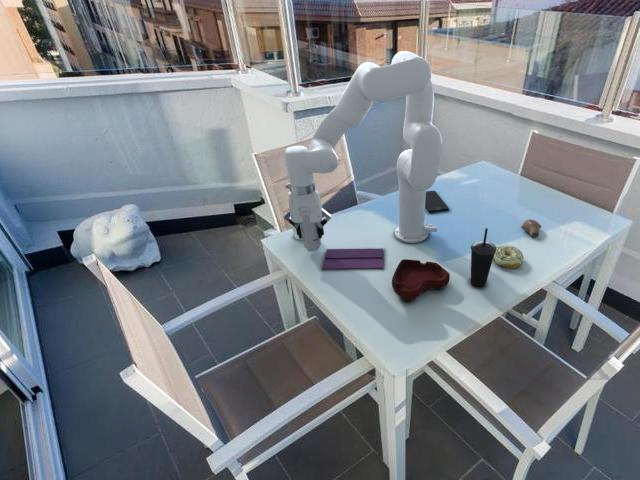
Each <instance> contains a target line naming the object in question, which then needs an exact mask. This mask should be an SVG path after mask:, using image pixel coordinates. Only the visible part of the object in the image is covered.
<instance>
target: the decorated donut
mask: <svg viewBox="0 0 640 480" xmlns="http://www.w3.org/2000/svg"><path fill="white" fill-rule="evenodd" d="M495 246H496V245H495ZM496 248H497V250H496V253H495V254H494V257H493V262H495V264H497V265H498V266H500V267H501V268H504V269H510V270H513V269H516V268H518V267H520V265H521V264H522V262H523V261H524V254H523V252H522V251H521V249H519V248H517V247H515V246H514V245H509V244H503V245H497V246H496Z"/></svg>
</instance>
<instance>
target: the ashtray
mask: <svg viewBox="0 0 640 480" xmlns="http://www.w3.org/2000/svg"><path fill="white" fill-rule="evenodd" d="M450 281H451V275H450V273H449V272H448V271H447V269H445V268H443V267H442V265H440V264H439V263H438V262H434V261H426V262H424V263H423V262H421V261H420V260H417V259H408V258H407V259H406V258H405V259H401V260H400V261H399V263H398V265H397V266H396V269H395V271H394V273H393V275H392V277H391V286H392V290H393V291H394V293H395V294H396V295H397V296H398V297H399V298H400V299H402V300H403V302H406V303H409V302H412V301H414V300H416V299H418V298H419V297H420V296H421V295H422V294H425V293H427V292H428V291H431V290H434V289H435V290H441V289H442V288H443V289H444V288H445V287H447V286H448V284H449V283H450Z"/></svg>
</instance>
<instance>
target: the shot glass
mask: <svg viewBox="0 0 640 480" xmlns="http://www.w3.org/2000/svg"><path fill="white" fill-rule="evenodd" d="M290 226H291V229H292V232H293V236H294V239H296V240H301V241H303V240H302V238H301V239H299V235H297V231H296V228H294V226H293V225H291V224H290Z"/></svg>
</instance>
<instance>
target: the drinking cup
mask: <svg viewBox="0 0 640 480" xmlns="http://www.w3.org/2000/svg"><path fill="white" fill-rule="evenodd" d="M488 230H489V228H487V227H485V229H484V234H483V240H477V241H474V242H472V243H471V244H470V250H471V253H470V285H471V286H472V287H474V288H476V289H482V288H484V287H485V286H486V284H487V281H488V278H489V274H490V271H491V267H492V264H493V262H494V260H493V257H494V254H495V253H496V250H497V248H496V245H495V244H494V243H493V242H490V241H487V236H488Z"/></svg>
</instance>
